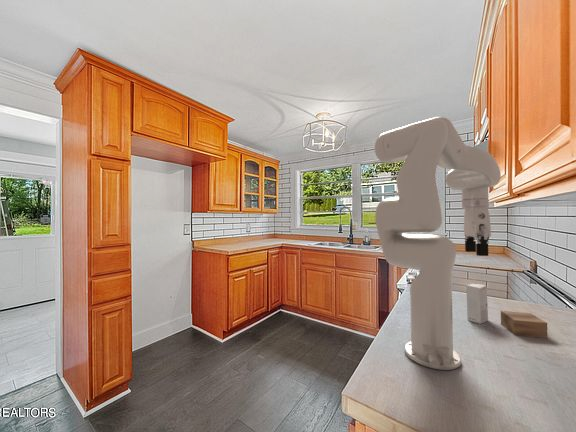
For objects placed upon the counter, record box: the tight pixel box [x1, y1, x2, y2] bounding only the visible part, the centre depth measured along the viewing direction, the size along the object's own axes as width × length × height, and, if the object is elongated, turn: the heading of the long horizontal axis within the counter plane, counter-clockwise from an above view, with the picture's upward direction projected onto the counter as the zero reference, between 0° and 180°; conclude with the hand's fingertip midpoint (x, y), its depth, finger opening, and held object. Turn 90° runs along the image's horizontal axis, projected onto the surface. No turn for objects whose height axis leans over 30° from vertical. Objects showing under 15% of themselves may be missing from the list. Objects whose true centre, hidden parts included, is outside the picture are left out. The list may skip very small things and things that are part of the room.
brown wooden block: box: [500, 310, 548, 339], centre depth 79 cm, size 8×8×4 cm
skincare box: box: [465, 283, 489, 325], centre depth 88 cm, size 6×4×12 cm
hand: (476, 253), depth 88 cm, fingers open, 9 cm apart
